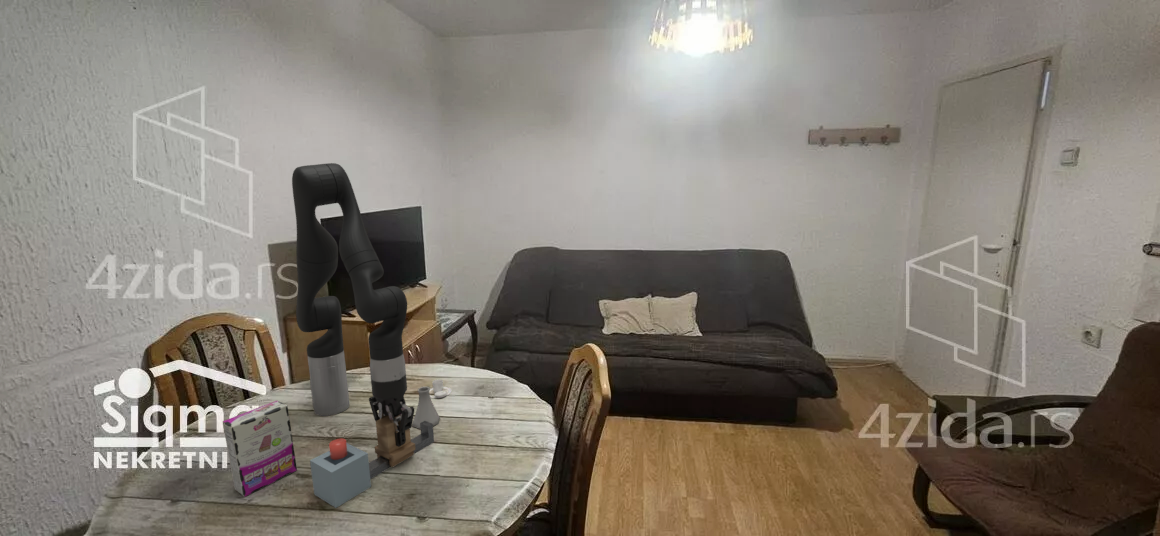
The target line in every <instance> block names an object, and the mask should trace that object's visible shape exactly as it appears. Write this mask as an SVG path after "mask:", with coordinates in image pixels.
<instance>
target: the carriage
mask: <svg viewBox="0 0 1160 536" xmlns="http://www.w3.org/2000/svg"><path fill="white" fill-rule="evenodd" d="M399 416H400V415H398V416H396V417H395V418H397V417H399ZM400 422H401V421H399V422H398V426H400ZM375 426H376V427H375V429H376V439H377V445H375V446H374V453H375V454H376V459H377V458H378V457H380V456H383V457H385V458H387V459H389V462H390V468H394V467H396V466H397V465H399V464H401V463H402V462H404V461H405V460H408V459H410V458H411V457H413V456H414V455H415V453H414V450H415V443H412V442H411V439H412V437H411V428H410V429H407V430H405V437H406V442H405V444H403V445H401V446H400V447H398V446H396V442H395V429H394V424H393V423H391V422H390V418H389V416H387V417H385V418H383V419H379V420H377V421H375Z"/></svg>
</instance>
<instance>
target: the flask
mask: <svg viewBox="0 0 1160 536" xmlns="http://www.w3.org/2000/svg"><path fill="white" fill-rule="evenodd" d="M430 389H431V387H430V386H421V387H418V389H417V393H418V404H417V407H416V410H415V413H414V416H413V422H412V427H414V428H417V429H419V430H421V429H420V423H421V422H423V421H427V422H430V423H432V424H433V427H434V426H436V425H438V424H439V423H440V420H441V417H440V415H439V413H438V411H437V409H436V408H435V406H434V404H433V401H432V398H430V395H431V394H430V392H429V390H430Z"/></svg>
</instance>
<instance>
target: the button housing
mask: <svg viewBox="0 0 1160 536" xmlns="http://www.w3.org/2000/svg"><path fill="white" fill-rule="evenodd" d="M346 444H347V456H345V457H344V458H342V459H338V460H333V459H331V457H330V450H328V451H326V452H324V453H321V454H319V455H318V456H316V457H314V458H312V459H309V462H310V471H311V479H312V488H313V494H314V496H315V497H318V498H319V499H321V500H322V501H324V502H326V503H327V504H329V505H330V506H332V507H334V509H337V508H338V507H339V506H342V505H344V504H345V503H347V502H348V501H350V500H351V499H354V498H355V497H357V496H358V495H360V494H362V493H363V492H365V491H367V490H368V489H370V488H371V487H372V482H371V479H370V470H369V462H370V461H369V453H368V452H367V451H364V450H362V449H360V448H358V447H357V446H354V445H351V444H350V443H348V442H346Z"/></svg>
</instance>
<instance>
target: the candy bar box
mask: <svg viewBox="0 0 1160 536" xmlns="http://www.w3.org/2000/svg"><path fill="white" fill-rule="evenodd" d="M289 413H290V412H289V408H288V405H287V404H286V403H283V402H281V401H279V400H275V401H271V402H269V403H267V404H264V405H262V406H259V407H257V408H254V409H250V410H249V411H245V412H243V413H241V414H239V415H235V416H233V417H231V418H228V419H225V420H222V426H223V432H224V433H223V434H224V436H225V442H226V449H227V455H228V459H229V466H230V472H231V475H232V482H233V487H234V490H235V491H236V492H237V493H239V494H240V495H241V496H243V497H248V496H249V495H252V494H253V493H255V492H258V491H260V490H261V489H263V488H265V487H268V486H270V485H272V484H273V483H275V482H277V481H279V480H281V479H282V478H285V477H287V476H289V475H291V474H293V473H294V472H297V471H298V468H297V460H296V453H295V447H294V441H293V435H292V433H293V432H292V427H291V426H292V425H291V421H290V414H289Z"/></svg>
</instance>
